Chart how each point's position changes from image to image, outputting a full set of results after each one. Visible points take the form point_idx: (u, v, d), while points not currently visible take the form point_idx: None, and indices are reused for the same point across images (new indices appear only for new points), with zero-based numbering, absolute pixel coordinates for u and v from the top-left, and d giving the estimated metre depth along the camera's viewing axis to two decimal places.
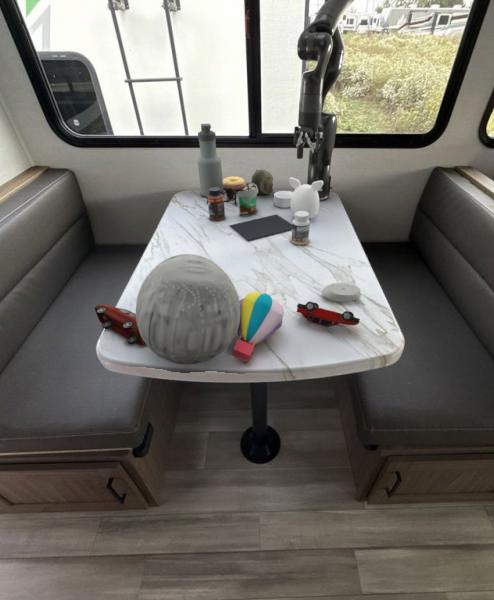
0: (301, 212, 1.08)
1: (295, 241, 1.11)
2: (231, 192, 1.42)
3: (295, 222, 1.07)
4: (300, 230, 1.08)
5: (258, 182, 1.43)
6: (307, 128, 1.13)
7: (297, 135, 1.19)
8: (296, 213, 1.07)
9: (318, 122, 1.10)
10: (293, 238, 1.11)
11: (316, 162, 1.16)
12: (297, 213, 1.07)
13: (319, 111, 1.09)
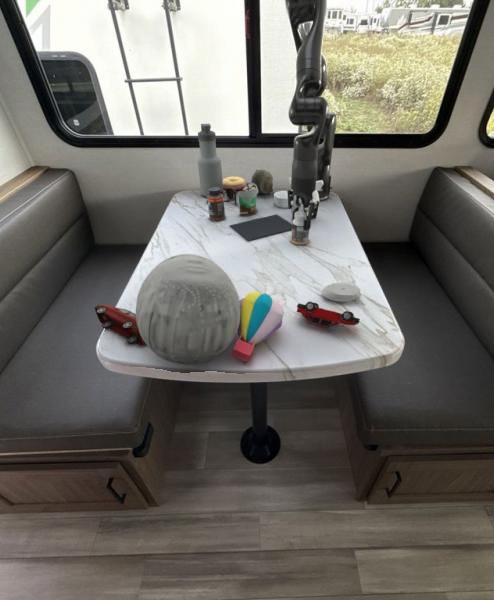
0: (301, 212, 1.08)
1: (295, 241, 1.11)
2: (231, 192, 1.42)
3: (295, 222, 1.07)
4: (300, 230, 1.08)
5: (258, 182, 1.43)
6: (301, 193, 1.02)
7: (291, 199, 1.09)
8: (296, 213, 1.07)
9: (313, 188, 1.00)
10: (293, 238, 1.11)
11: (309, 228, 1.07)
12: (297, 213, 1.07)
13: (314, 177, 0.98)
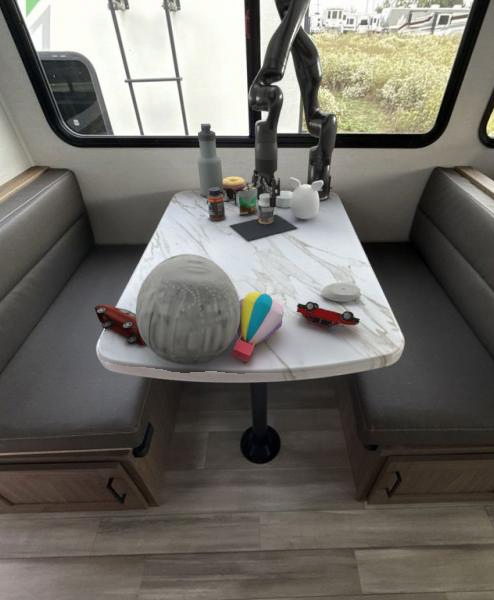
0: (265, 194, 1.20)
1: (261, 221, 1.23)
2: (231, 192, 1.42)
3: (260, 203, 1.19)
4: (264, 210, 1.20)
5: None
6: (264, 173, 1.13)
7: (256, 178, 1.20)
8: (261, 195, 1.19)
9: (274, 168, 1.11)
10: (259, 218, 1.23)
11: (274, 205, 1.17)
12: (261, 195, 1.19)
13: (274, 158, 1.09)
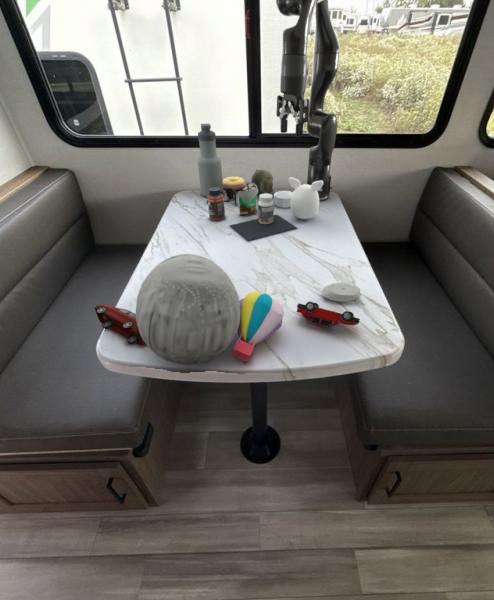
0: (265, 194, 1.20)
1: (261, 221, 1.23)
2: (231, 192, 1.42)
3: (260, 203, 1.19)
4: (264, 210, 1.20)
5: (258, 182, 1.43)
6: (290, 96, 1.00)
7: (280, 105, 1.07)
8: (261, 195, 1.19)
9: (302, 88, 0.98)
10: (259, 218, 1.23)
11: (301, 135, 1.04)
12: (261, 195, 1.19)
13: (303, 75, 0.96)
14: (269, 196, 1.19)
